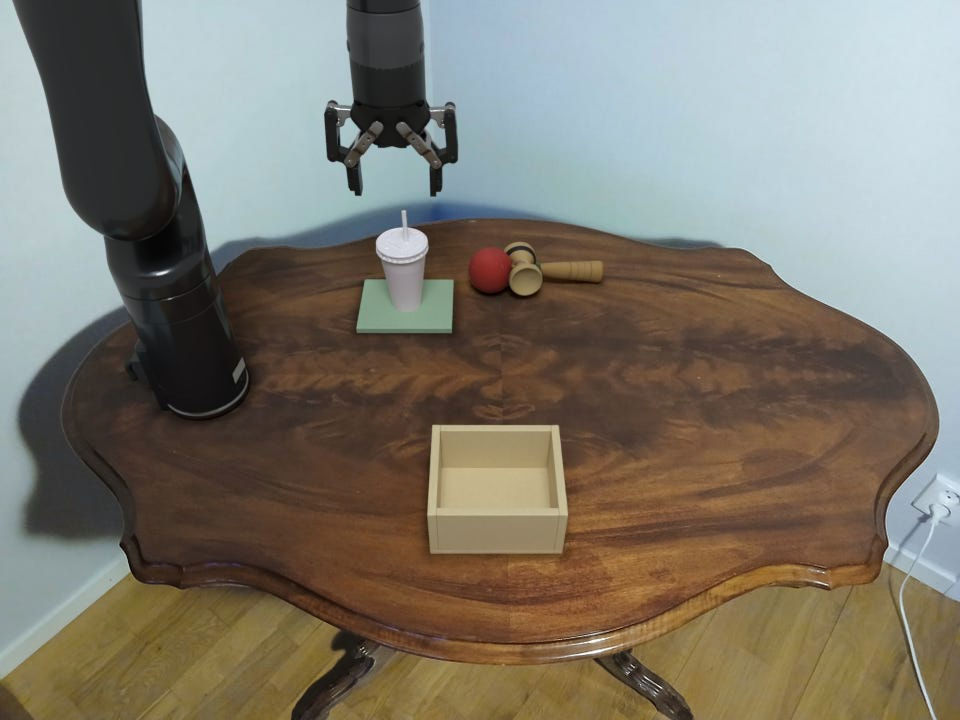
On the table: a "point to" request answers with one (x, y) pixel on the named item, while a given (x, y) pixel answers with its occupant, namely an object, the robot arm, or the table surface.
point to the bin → (496, 490)
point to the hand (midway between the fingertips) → (396, 192)
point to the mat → (386, 319)
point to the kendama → (524, 269)
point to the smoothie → (403, 264)
